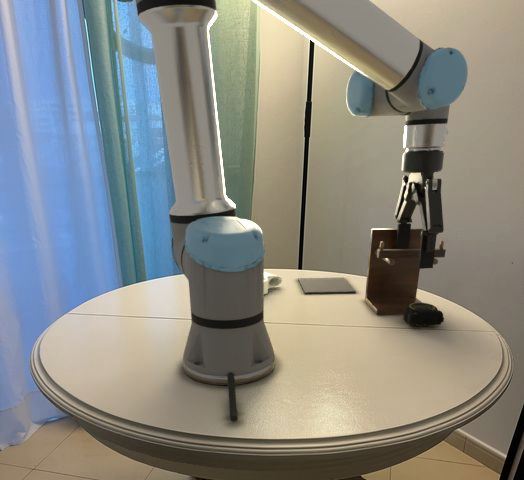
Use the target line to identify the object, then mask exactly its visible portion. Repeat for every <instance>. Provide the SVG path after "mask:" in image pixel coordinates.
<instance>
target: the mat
mask: <svg viewBox="0 0 524 480" xmlns="http://www.w3.org/2000/svg"><path fill="white" fill-rule="evenodd" d="M297 280H298V283H299V285H300V286H301V288H302V291H303V293H304V294H305V295H313V294H314V295H317V294H321V295H322V294H356V293H357V291H356V290H355V288H354V287H353V286H352V285H351V284H350V283H349V282H348V281H347V280H346V278H345V277H305V278H297Z"/></svg>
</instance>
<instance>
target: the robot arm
mask: <svg viewBox="0 0 524 480" xmlns="http://www.w3.org/2000/svg"><path fill="white" fill-rule="evenodd" d="M251 1H252V2H253V3H255V4H257V5H258V6H260V7H261V8H263V9H264V10H266V11H267V12H268V13H270V14H272V15H273V16H275V17H276V18H277V19H279V20H281V21H282V22H284V24H287V25H288V26H290V27H291V28H293V29H294V30H295V31H297V32H299V33H300V34H301V35H304V37H306V38H308V39H309V40H311V41H312V42H313V43H315V44H316V45H318V46H319V47H321V48H322V49H324V50H326V51H327V52H329V54H331V55H333V56H334V57H336V58H337V59H339V60H341V61H342V62H343V63H345V64H346V65H348V66H349V67H350V68H352V69H354V70H353V72H352V73H351V74H350V76H349V79H348V82H347V85H346V91H345V92H346V93H345V101H346V106H347V110H348V111H349V112H350V114H351V115H352V116H354V117H366V118H369V117H393V116H401V117H402V116H403V117H404V116H405V124H404V133H403V142H402V143H403V145H402V148H403V149H405V151H404V152H403V154H402V159H401V160H402V161H401V171H402V172H403V173H408V174H409V175H407V174H405V175H403V176H402V178H401V179H402V180H401V187H400V191H399V196H398V199H397V204H396V208H395V211H394V216H393V218H394V220H396V223H397V228H396V229H397V239H396V249H409V241H410V231H411V228H412V223H413V219H412V217H413V214H414V212H415V210H416V207H417V206H418V209H419V213H420V215H419V216H420V218H421V219H420V221H421V225H422V228H423V231H422V232H421V234H420V235H421V242H420V252H419V262H418V268H419V269H420V270H423V269H433V268H434V264H433V262H434V253H435V248H436V244H437V235H439V234H442V233H444V230H445V228H444V215H443V214H444V213H443V203H442V184H443V183H442V182H443V181H442V178H434V176H435V175H434V174H435V173H439V172H441V171H442V170H443V167H444V159H445V158H444V157H445V152H444V150H442V148H444V147H445V146H446V139H447V136H448V134H449V130H448V123H449V122H448V121H449V115H450V114H449V113H450V108H451V107H450V105H451V104H453V103H454V102H456V101H457V99H458V98H460V96H461V95H462V93H463V92H464V89H465V87H466V84H467V81H468V73H469V71H468V64H467V63H468V62H467V60H466V58H465V56H464V55H463V53H462V52H461V51H460V50H458V49H457V48H454V47H449V46H448V47H438V48H436V49H435V48H432V47H431V46H430V45H428V44H427V43H425V42H424V41H423V40H422V39H420V38H419V37H418V36H416V35H415V34H414V33H412V32H411V31H410V30H408V29H407V28H406V27H404V26H403V25H402V24H400V23H399V22H398V21H397V20H396V19H394V18H393V17H392V16H390V15H389V14H388V13H387V12H385V11H384V10H382V9H381V8H380V7H379V6H377V5H376V4H375V3H374V2H372V1H371V0H251ZM135 7H136V12H137V18H138V22H139V23H140V24H141V25H142V26H143V27H144V28H145V29H146V30H147V31H148V32H149V34H150V35H151V42H152V47H153V48H152V50H153V55H154V62H155V70H156V76H157V82H158V88H159V95H160V96H159V97H160V101H161V109H162V116H163V122H164V129H165V130H164V131H165V137H166V142H167V149H168V155H169V162H170V169H171V170H170V171H171V177H172V183H173V189H174V196H175V202H174V203H173V205H172V206H171V207H170V209H169V210H168V216H169V222H170V228H171V236H172V237H171V241H170V242H171V245H170V249H171V254H172V258H173V260H174V263H175V265H176V266H177V268H178V269H179V270H180V272H181V273H182V274H183V275H184V276H185V278H186V279H187V281H188V293H189V306H190V318H191V319H190V321H191V324H190V328H189V332H188V336H187V339H186V344H185V347H184V351H183V354H182V355H183V357H182V364H183V365H182V366H183V370H184V373H185V374H186V375H187V376H188V377H190V378H191V379H193V380H194V381H195V380H196V381H198V382H200V383H205V384H208V385H217V386H227V390H228V405H229V406H228V407H229V420H230V422H233V423H235V422H238V419H239V418H238V407H237V395H236V385H243V384H248V383H253V382H256V381H258V380H261V379H263V378H264V377H267V376H268V375H269V374H271V373H272V371H273V370H274V368H275V364H276V355H275V351H274V347H273V344H272V341H271V338H270V336H269V332H268V329H267V326H266V323H265V317H264V315H265V310H264V309H265V308H264V307H265V305H264V303H265V299H264V298H265V294H264V272H265V264H264V263H265V253H266V247H265V243H264V233H263V230H262V228H261V227H260V226H259V225H258V224H257V223H255V222H254V221H252V220H250V219H246V218H240V217H238V216H237V207H236V204H235V203H234V202H233V201H232V200H231V199H230V198H228V196H227V195H226V186H225V185H226V184H225V176H224V175H225V174H224V166H223V165H224V164H223V157H222V146H221V137H220V127H219V119H218V118H219V117H218V110H217V109H218V108H217V98H216V90H215V80H214V71H213V70H214V69H213V61H212V51H211V42H210V32H209V31H210V27H211V26H212V25H213V23H214V22H215V21H216V19H217V18H218V10H217V1H216V0H135Z"/></svg>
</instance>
